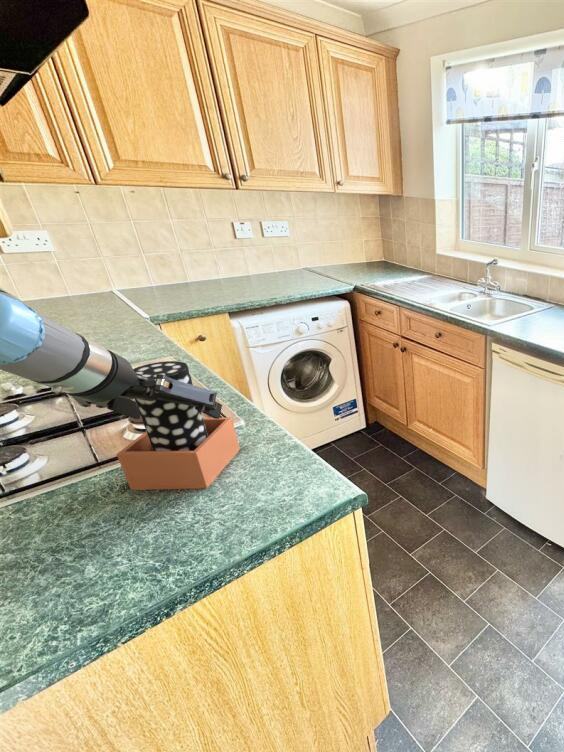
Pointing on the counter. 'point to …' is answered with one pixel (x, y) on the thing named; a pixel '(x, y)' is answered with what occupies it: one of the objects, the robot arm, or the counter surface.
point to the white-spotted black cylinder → (170, 412)
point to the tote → (180, 460)
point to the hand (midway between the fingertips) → (179, 411)
